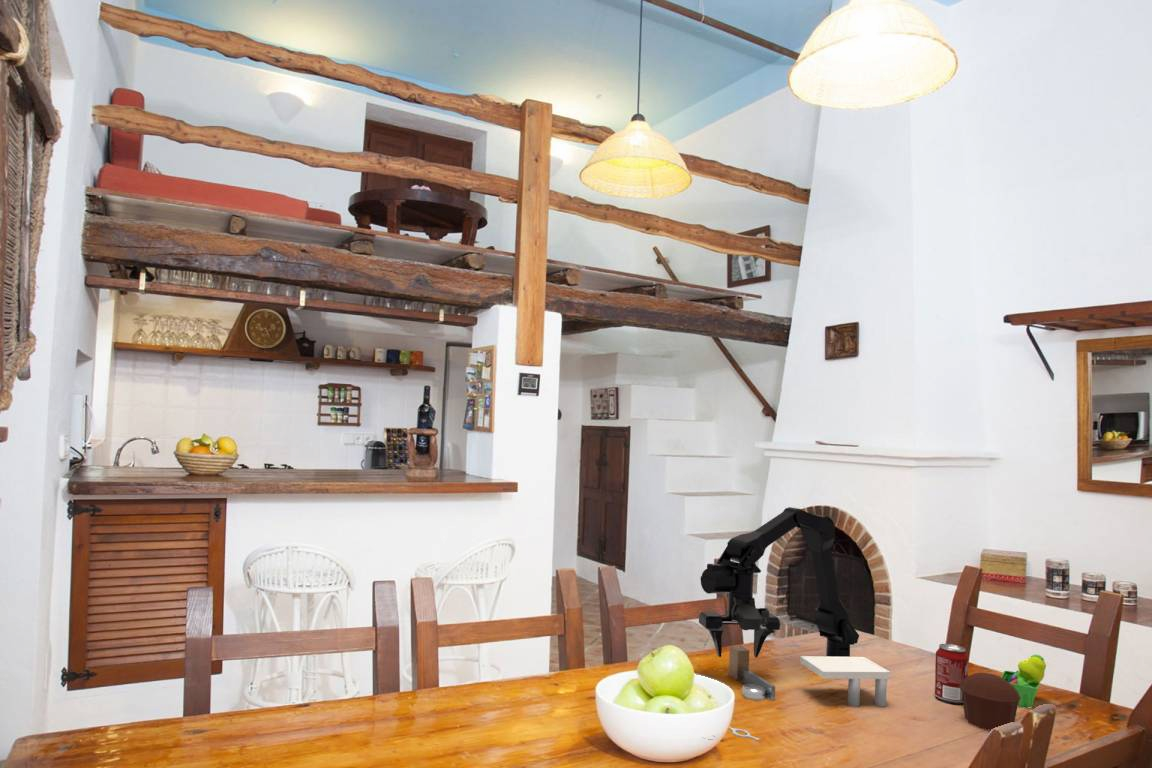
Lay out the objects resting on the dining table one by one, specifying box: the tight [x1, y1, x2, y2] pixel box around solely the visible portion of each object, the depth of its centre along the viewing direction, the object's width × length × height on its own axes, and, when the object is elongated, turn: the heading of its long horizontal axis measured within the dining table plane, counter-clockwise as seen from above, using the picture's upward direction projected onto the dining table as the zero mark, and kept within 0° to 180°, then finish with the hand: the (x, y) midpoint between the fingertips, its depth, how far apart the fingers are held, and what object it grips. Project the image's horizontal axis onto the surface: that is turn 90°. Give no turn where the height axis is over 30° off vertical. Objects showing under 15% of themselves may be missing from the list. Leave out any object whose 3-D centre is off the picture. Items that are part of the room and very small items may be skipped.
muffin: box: [959, 672, 1021, 731], centre depth 163 cm, size 12×11×10 cm
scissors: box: [728, 726, 760, 742], centre depth 154 cm, size 11×1×20 cm
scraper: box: [728, 645, 776, 701], centre depth 177 cm, size 17×3×7 cm, turn 18°
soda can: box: [934, 643, 969, 705], centre depth 177 cm, size 7×7×12 cm
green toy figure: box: [1000, 654, 1047, 708], centre depth 179 cm, size 11×9×11 cm
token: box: [741, 684, 766, 701], centre depth 171 cm, size 5×5×2 cm
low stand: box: [799, 655, 891, 708], centre depth 174 cm, size 11×16×8 cm
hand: (737, 656), depth 184 cm, fingers open, 9 cm apart
